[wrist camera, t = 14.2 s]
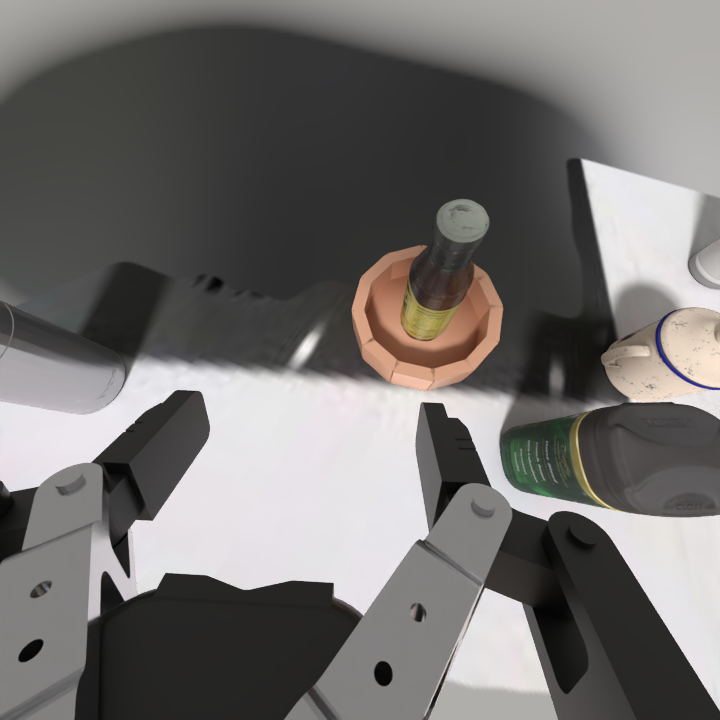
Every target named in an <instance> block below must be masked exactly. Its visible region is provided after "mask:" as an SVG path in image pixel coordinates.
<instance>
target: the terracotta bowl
mask: <svg viewBox="0 0 720 720" xmlns="http://www.w3.org/2000/svg"><path fill="white" fill-rule="evenodd" d="M426 247H427V246H424V245H422V247H421V246H420V245H419V246H415V247H411V248H408V249H403V250H400V251H396V252H392V253H388V254H387V255H385V256H384V257H382V258H381V259H380V260H379V261H378V262H377V263H376V264H375V265H374V266H373V267H371V268H370V269H369V270H368V271H367V272H366V273H365V274H364V275H363V276H362V278H361V279H360V282H359V286H358V289H357V293H356V296H355V300H354V303H353V307H352V319H353V328H354V331H355V335H356V338H357V341H358V344H359V348H360V351H361V354H362V357H363V359H364V360H365V361H366V362H367V363H368V364H369V365H370V366H372V367H373V368H374V369H375V370H376V371H377V372H378V373H379V374H380V375H382V376H383V377H384V378H385V379H386V380H387V381H388V382H390V381H391V383H393V384H397V385H401V386H405V387H410V388H414V389H418V390H422V391H426V390H427V391H429V390H433V389H436V388H440V387H443V386H447V385H450V384H453V383H457V382H460V381H462V380H463V379H464V378H465V377H467V376H468V375H469V374H470V373H471V372H472V371H474V370H475V368H476V367H477V366H478V365H479V364H480V363H481V362H482V361H483V359H484V358H485V357H486V356H487V355H488V354H489V353H490V352H491V350H492V349H493V348H494V347H495V346H496V345H497V344H498V342H499V338H500V329H501V321H502V313H503V307H502V306H503V305H502V303H501V301H500V299H499V297H498V294H497V292H496V290H495V288H494V286H493V284H492V282H491V280H490V278H489V276H488V275H486V274H487V273H486V272H484V271H483V270H482V269H480V268H479V267H478V266H476V265H475V264H474V263H473V264H474V272H475V273H474V278H473V281H472V285H471V286H470V288H469V289H468V291H467V294H466V296H465V298H464V299H463V301H462V303H461V304H460V306H459V308H458V309H457V311H456V313H455V314H454V316H453V318H452V319H451V321H450V322H449V324H448V326H447V327H446V329H445V330H444V332H443V333H442V334H440V335H439V336H438V337H437V338H435V339H433V340H431V341H427V342H426V341H418V340H415V339H412V338H410V337H409V336H408V335H407V334H406V332H405V331H404V329H403V327H402V325H401V319H400V313H401V309H402V304H403V299H404V294H405V290H406V285H407V280H408V275H409V271H410V267H411V264H412V262H413V261H414V259H415V258H416V257H417V256H418V255H419V254H420V253H421V252H422V251H423V250H424V249H425V248H426Z"/></svg>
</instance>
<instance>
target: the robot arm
mask: <svg viewBox="0 0 720 720" xmlns="http://www.w3.org/2000/svg"><path fill="white" fill-rule="evenodd" d="M124 378H125V366H124V362H123V360H122V358H121V357H120V355H118V354H117V353H116V352H115V351H113V350H111V349H109V348H107V347H104V346H102V345H100V344H98V343H96V342H93V341H91V340H89V339H87V338H85V337H82V336H80V335H78V334H76V333H73V332H71V331H69V330H67V329H64V328H62V327H60V326H58V325H56V324H53V323H51V322H49V321H47V320H44V319H42V318H40V317H38V316H35V315H33V314H31V313H29V312H26V311H24V310H22V309H20V308H17V307H15V306H13V305H11V304H8V303H6V302H4V301H2V300H0V401H2V402H8V403H14V404H20V405H26V406H32V407H38V408H43V409H48V410H54V411H60V412H66V413H72V414H88V413H92V412H95V411H98V410H100V409H101V408H103V407H105V406H106V405H107V404H109V403H110V402H111V401H112V400H113V399H114V398H115V397H116V395H117V394H118V393H119V391H120V389H121V388H122V385H123V382H124ZM209 432H210V425H209V420H208V416H207V412H206V407H205V403H204V399H203V395H202V393H201V392H199V391H186V390H177V391H175V392H174V393H173V394H172V395H170V396H169V397H168V398H167V399H166V400H165V401H164V402H163V403H160V404H158V405H156V406H154V407H153V408H151V409H149V410H147V411H146V412H144V413H143V414H142V415H141V416H140V417H139V418H138V419H137V420H136V421H135V423H134V424H132V425H131V426H130V427H129V428H127V429H126V432H123V433H122V434H121V435H120V436H119V437H118V438H117V439H116V440H115V441H114V442H113V443H112V444H110V445H109V446H108V447H107V448H106V449H105V450H104V451H103V452H102V453H101V454H100V455H99V456H98V457H97V458H96V459H95V460H93V461H92V462H91V463H82V464H77V465H74V466H71V467H68V468H65V469H63V470H61V471H59V472H57V473H55V474H54V475H52V476H51V477H49V478H48V479H47V480H45V481H44V482H43V483H42V484H41V485H40V486H39V487H35V488H30V489H25V490H19V491H14V492H9V491H8V490H7V488H6V487H5V485H4V484H3V482H2V481H0V720H429V719H430V717H431V714H432V712H433V709H434V707H435V705H436V702H437V700H438V698H439V696H440V693H441V691H442V688H443V686H444V684H445V682H446V679H447V677H448V674H449V672H450V670H451V667H452V665H453V662H454V660H455V657H456V655H457V652H458V650H459V648H460V645H461V643H462V641H463V638H464V636H465V634H466V631H467V629H468V627H469V624H470V622H471V620H472V617H473V615H474V613H475V610H476V608H477V606H478V603H479V601H480V599H481V596H482V594H483V592H484V589H485V588H487V589H490V590H492V591H495V592H497V593H500V594H502V595H505V596H507V597H509V598H512V599H514V600H517V601H519V602H522V605H523V608H524V611H525V614H526V618H527V621H528V624H529V627H530V630H531V634H532V637H533V640H534V643H535V646H536V650H537V653H538V656H539V659H540V662H541V666H542V669H543V672H544V675H545V678H546V682H547V685H548V688H549V691H550V695H551V698H552V701H553V704H554V707H555V711H556V714H557V716H558V720H720V711H719V709H718V708H717V706H716V704H715V703H714V701H713V700H712V698H711V697H710V695H709V693H708V692H707V690H706V689H705V687H704V685H703V684H702V682H701V681H700V679H699V678H698V676H697V674H696V673H695V671H694V670H693V668H692V666H691V665H690V663H689V662H688V660H687V658H686V657H685V655H684V654H683V652H682V651H681V649H680V647H679V646H678V644H677V643H676V641H675V639H674V638H673V636H672V635H671V633H670V632H669V630H668V628H667V627H666V625H665V624H664V622H663V620H662V619H661V617H660V616H659V614H658V613H657V611H656V609H655V608H654V606H653V605H652V603H651V601H650V600H649V598H648V597H647V595H646V593H645V592H644V590H643V589H642V587H641V586H640V584H639V582H638V581H637V579H636V578H635V576H634V574H633V573H632V571H631V570H630V568H629V567H628V565H627V563H626V562H625V560H624V559H623V557H622V555H621V554H620V552H619V551H618V549H617V548H616V546H615V544H614V543H613V541H612V540H611V538H610V537H609V536H608V534H607V533H606V532H605V531H604V530H603V529H602V528H601V527H600V526H598V525H597V524H596V523H594V522H593V521H591V520H590V519H588V518H586V517H584V516H582V515H580V514H577V513H573V512H568V511H560V512H556V513H554V514H552V515H551V517H550V518H549V520H548V521H546V520H543V519H540V518H537V517H534V516H531V515H528V514H525V513H522V512H519V511H517V510H515V509H513V508H511V507H510V504H509V503H508V501H507V500H506V499H505V497H504V496H503V495H502V494H500V493H499V492H498V491H496V490H495V489H493V488H492V487H491V485H490V483H489V480H488V478H487V475H486V473H485V470H484V468H483V465H482V463H481V460H480V458H479V455H478V453H477V451H476V448H475V445H474V443H473V441H472V438H471V436H470V433H469V431H468V428H467V427H466V426H465V425H464V424H463V423H462V422H461V421H460V420H459V419H458V418H448V416H447V413H446V410H445V407H444V405H443V404H442V403H425V402H422V403H421V406H420V412H419V419H418V426H417V432H416V455H417V462H418V468H419V474H420V480H421V486H422V492H423V498H424V504H425V510H426V516H427V522H428V528H429V534H428V536H427V537H426V539H425V540H424V541H422V540H420V539H419V540H418V541H416V542H415V544H414V545H413V546H412V547H411V549H410V550H409V552H408V553H407V555H406V556H405V557H404V559H403V560H402V562H401V563H400V565H399V566H398V567H397V569H396V570H395V572H394V573H393V575H392V576H391V577H390V579H389V580H388V582H387V583H386V585H385V586H384V587H383V589H382V590H381V592H380V593H379V595H378V596H377V598H376V599H375V600H374V602H373V603H372V605H371V606H370V608H369V609H368V610H367V612H366V613H365V615H364V616H363V615H362V614H361V613H360V612H359V611H358V610H356V609H355V608H354V607H352V606H351V605H349V604H347V603H346V602H344V601H342V600H340V599H337V598H335V597H334V583H324V582H307V581H288V582H283V583H279V584H274V585H270V586H265V587H260V588H256V589H251V590H242V589H239V588H237V587H234V586H232V585H229V584H227V583H224V582H222V581H219V580H217V579H214V578H212V577H209V576H206V575H190V574H173V573H165V575H164V577H163V579H162V580H161V582H160V584H159V586H158V588H157V589H153V590H150V591H147V592H144V593H141V594H139V595H138V593H137V587H136V576H135V562H134V548H133V534H132V531H131V529H130V527H131V525H132V524H133V523H134V521H135V520H150V521H153V519H154V518H155V516H156V515H157V513H158V512H159V510H160V509H161V507H162V506H163V505H164V503H165V502H166V500H167V499H168V497H169V496H170V494H171V493H172V491H173V490H174V488H175V487H176V485H177V484H178V483H179V481H180V480H181V478H182V477H183V475H184V474H185V472H186V471H187V469H188V468H189V466H190V465H191V464H192V462H193V461H194V459H195V458H196V456H197V455H198V453H199V452H200V450H201V449H202V447H203V446H204V445H205V443H206V441H207V439H208V437H209Z"/></svg>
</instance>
